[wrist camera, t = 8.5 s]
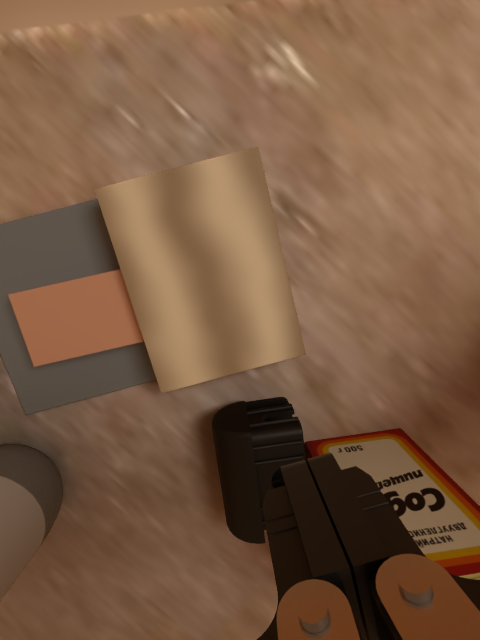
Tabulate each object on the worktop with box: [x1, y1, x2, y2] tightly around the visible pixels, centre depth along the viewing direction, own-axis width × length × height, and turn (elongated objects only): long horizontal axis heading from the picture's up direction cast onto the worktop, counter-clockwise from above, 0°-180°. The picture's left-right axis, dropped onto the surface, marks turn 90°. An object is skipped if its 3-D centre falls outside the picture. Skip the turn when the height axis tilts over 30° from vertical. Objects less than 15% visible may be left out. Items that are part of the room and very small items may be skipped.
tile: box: [8, 269, 144, 367], centre depth 30 cm, size 9×6×2 cm, turn 102°
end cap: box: [212, 397, 305, 544], centre depth 32 cm, size 10×7×7 cm
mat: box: [0, 199, 156, 415], centre depth 31 cm, size 12×16×1 cm
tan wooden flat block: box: [94, 146, 306, 393], centre depth 30 cm, size 12×16×4 cm
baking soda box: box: [306, 428, 480, 640], centre depth 29 cm, size 10×6×16 cm
